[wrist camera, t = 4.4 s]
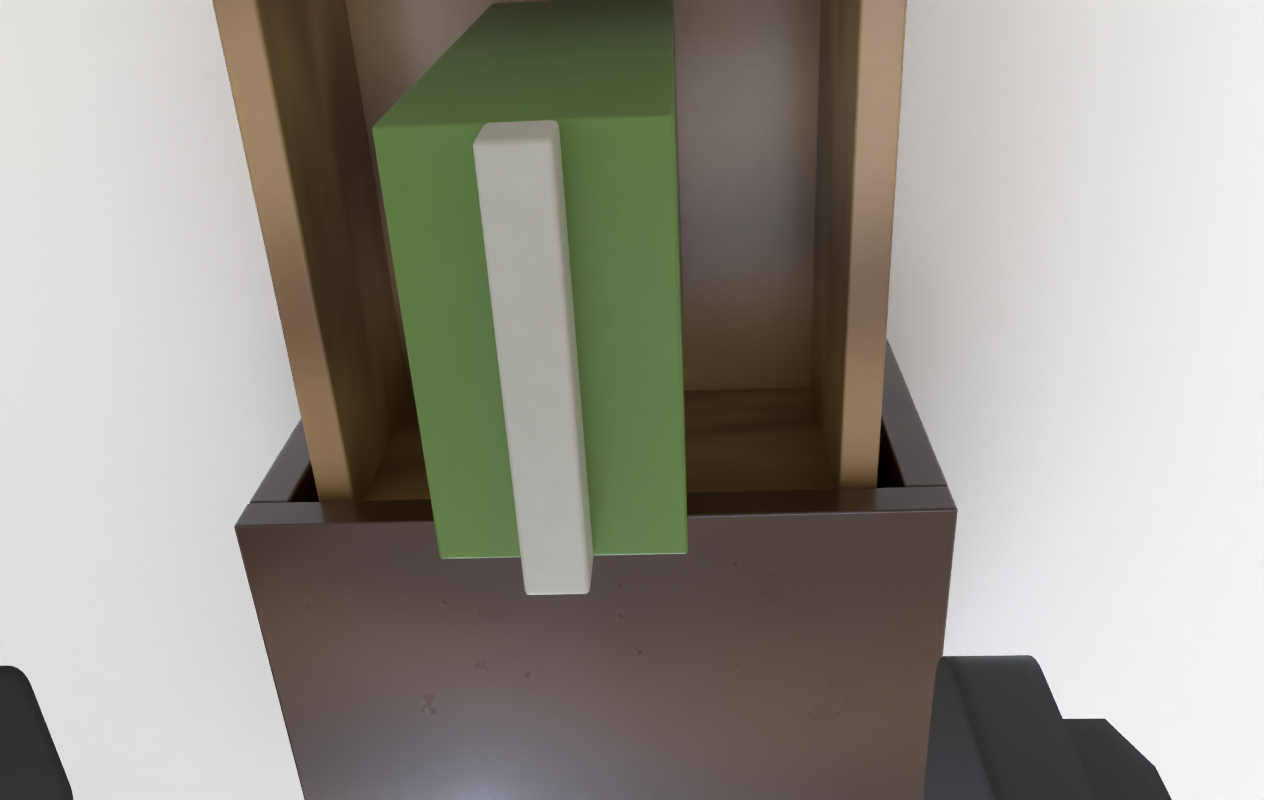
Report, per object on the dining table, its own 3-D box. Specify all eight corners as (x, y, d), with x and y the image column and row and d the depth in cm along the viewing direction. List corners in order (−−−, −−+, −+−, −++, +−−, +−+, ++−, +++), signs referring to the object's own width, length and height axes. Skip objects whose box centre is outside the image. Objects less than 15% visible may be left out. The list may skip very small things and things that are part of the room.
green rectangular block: (682, 293, 27) (688, 593, 17) (521, 298, 28) (427, 599, 17) (673, -6, 24) (673, 132, 14) (491, 3, 24) (351, 145, 14)
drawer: (198, -512, 21) (7, -644, 15) (915, -564, 21) (1018, -725, 14) (365, 406, 31) (288, 554, 24) (864, 392, 30) (914, 540, 24)
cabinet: (344, 346, 31) (232, 526, 23) (884, 329, 30) (958, 509, 22) (422, 765, 38) (357, 1009, 30) (858, 759, 37) (907, 1008, 29)
